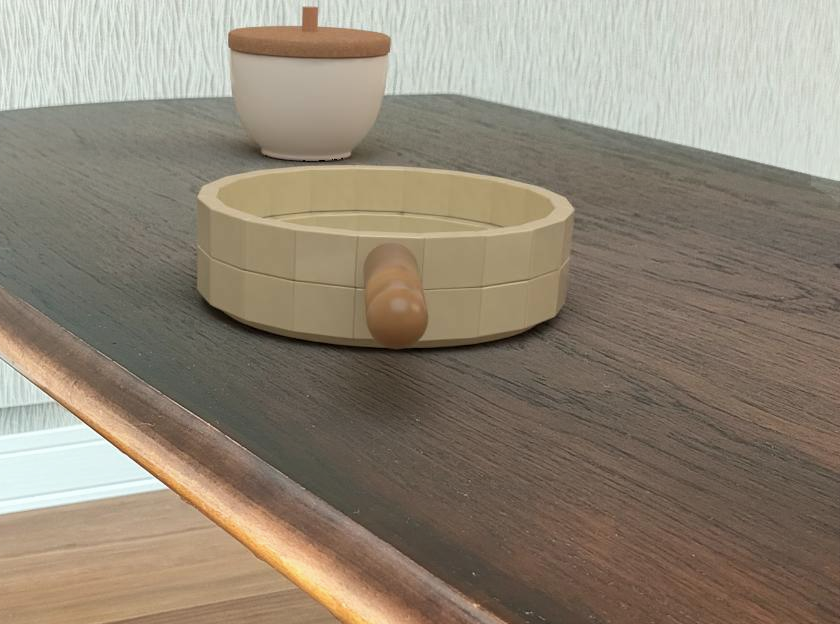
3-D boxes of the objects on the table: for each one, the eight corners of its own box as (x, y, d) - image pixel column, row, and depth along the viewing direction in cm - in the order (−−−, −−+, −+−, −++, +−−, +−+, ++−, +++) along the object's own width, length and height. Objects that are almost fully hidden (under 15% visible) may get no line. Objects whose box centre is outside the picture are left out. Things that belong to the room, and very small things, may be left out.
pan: (537, 265, 70) (546, 170, 68) (588, 360, 55) (601, 243, 54) (213, 255, 70) (214, 160, 68) (181, 346, 56) (180, 229, 54)
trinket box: (258, 137, 104) (260, -2, 101) (402, 148, 101) (410, 6, 98) (203, 159, 95) (203, 7, 91) (360, 172, 92) (367, 16, 88)
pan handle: (414, 291, 54) (418, 238, 53) (427, 357, 46) (432, 296, 46) (361, 289, 54) (364, 236, 53) (365, 355, 46) (368, 294, 46)
